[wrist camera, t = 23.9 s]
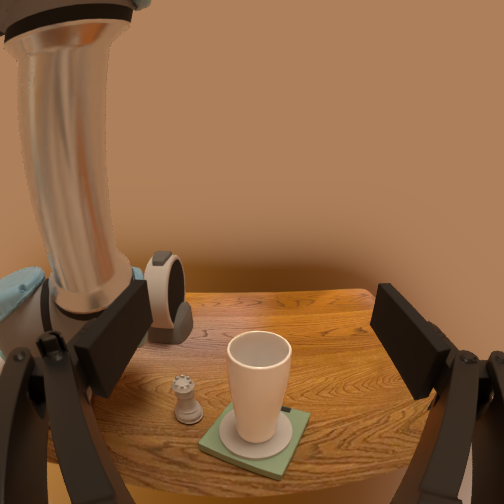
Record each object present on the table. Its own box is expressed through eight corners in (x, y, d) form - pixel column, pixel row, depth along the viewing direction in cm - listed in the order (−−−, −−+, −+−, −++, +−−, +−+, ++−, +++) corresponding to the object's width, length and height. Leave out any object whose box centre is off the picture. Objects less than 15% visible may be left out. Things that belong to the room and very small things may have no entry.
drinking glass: (244, 456, 27) (243, 377, 23) (223, 421, 33) (216, 338, 28) (290, 437, 30) (305, 355, 26) (266, 406, 36) (271, 324, 31)
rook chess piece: (170, 411, 37) (161, 377, 34) (193, 401, 39) (187, 366, 37) (185, 429, 33) (176, 396, 31) (209, 417, 36) (204, 383, 34)
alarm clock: (185, 350, 53) (175, 267, 47) (140, 345, 53) (124, 265, 47) (197, 311, 68) (193, 242, 63) (160, 309, 68) (152, 242, 63)
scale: (199, 449, 30) (196, 439, 29) (238, 399, 40) (238, 388, 40) (280, 481, 25) (282, 473, 24) (308, 420, 36) (311, 409, 35)
